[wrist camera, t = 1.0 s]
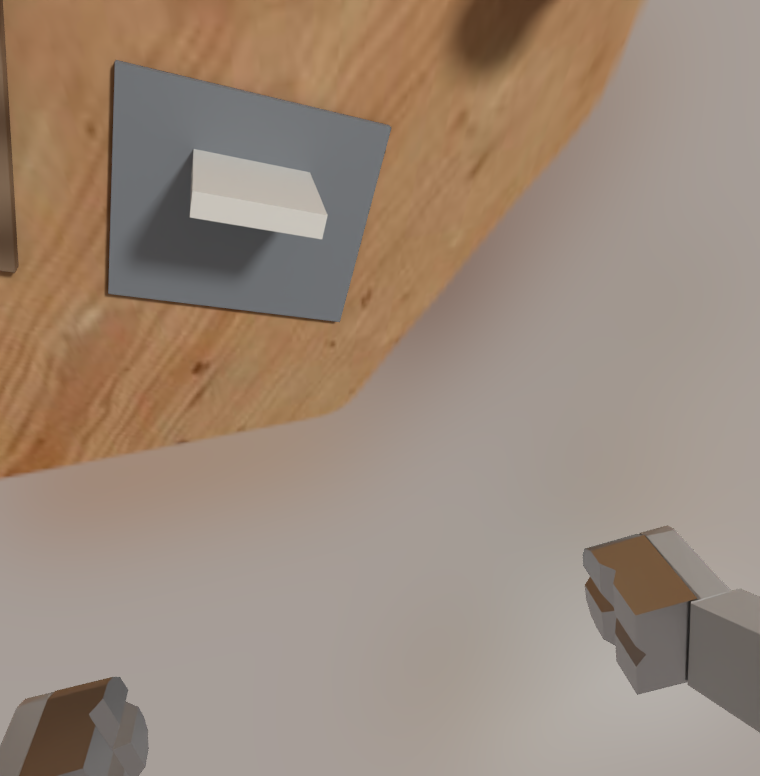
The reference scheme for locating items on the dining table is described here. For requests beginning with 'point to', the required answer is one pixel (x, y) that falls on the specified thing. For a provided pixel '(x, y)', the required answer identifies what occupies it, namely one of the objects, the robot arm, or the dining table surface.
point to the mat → (220, 240)
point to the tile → (255, 195)
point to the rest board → (6, 169)
